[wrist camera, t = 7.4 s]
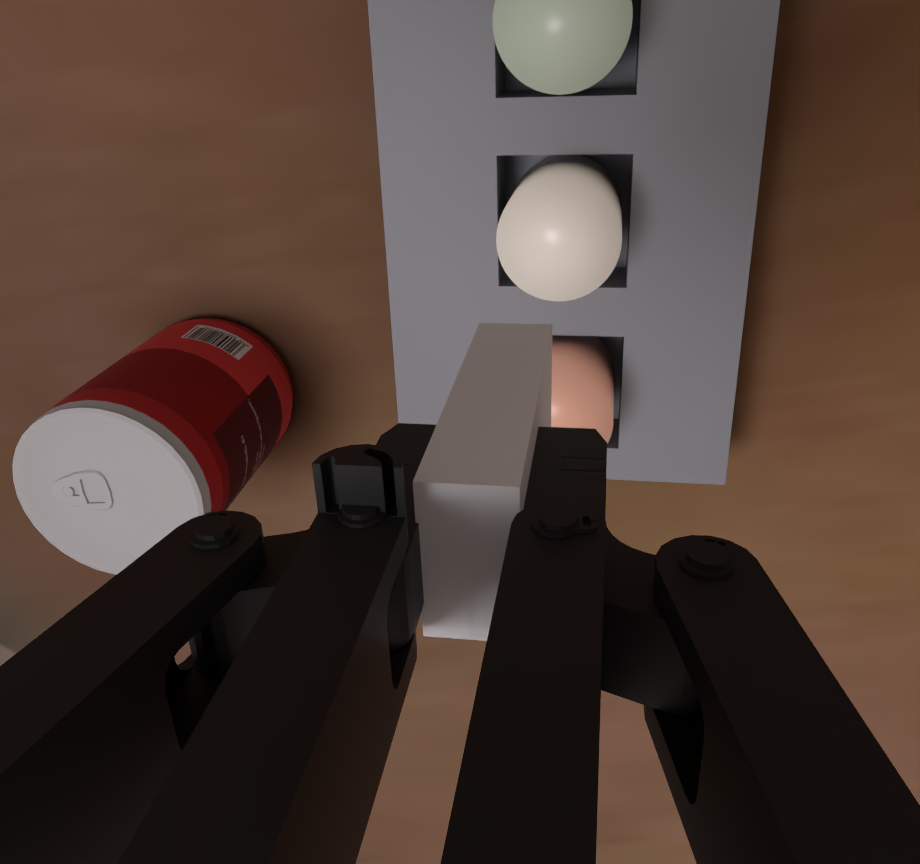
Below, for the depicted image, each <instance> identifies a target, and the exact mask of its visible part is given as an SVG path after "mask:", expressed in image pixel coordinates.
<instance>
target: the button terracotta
mask: <svg viewBox="0 0 920 864" xmlns="http://www.w3.org/2000/svg"><path fill="white" fill-rule="evenodd" d="M613 415H614V365H613V361H612V357H611V355H610V353H609V351H608V349H607V347H606V346H605V345H604V343H603V342H602V341H601V340H600V339H599V338H598V337H597V336H566V335H552V397H551V427H564V428H589V429H596V430H597V431H598V432H599V434H600V435H601V436H602V437H603V439H604V440H605V441H606V442H607V444H608V442H609V440H610V437H611V434H612V430H613Z"/></svg>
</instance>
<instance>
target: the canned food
mask: <svg viewBox="0 0 920 864" xmlns="http://www.w3.org/2000/svg"><path fill="white" fill-rule="evenodd" d="M292 405H293V390H292V383H291V380H290V376H289V373H288V371H287V369H286V367H285V365H284V363H283V361H282V359H281V358H280V356H279V355H278V354H277V353H276V351H275V350H274V349H273V347H272V346H270V345H269V344H268V343H267V342H266V341H265V340H264V339H263V338H262V337H260V336H259V335H257V334H256V333H254V332H253V331H251V330H250V329H248V328H246V327H243V326H241V325H239V324H236V323H234V322H230V321H226V320H222V319H210V318H202V319H194V320H187V321H181V322H178V323H176V324H173V325H170V326H168V327H166V328H165V329H163V330H162V331H160V332H159V333H157V334H156V335H155V336H153V337H152V338H150V339H149V340H147V341H146V342H145V343H143V344H142V345H140V346H139V347H137V348H136V349H135V350H133V351H132V352H130V353H129V354H127V355H126V356H125V357H123V358H122V359H120V360H119V361H117V362H116V363H114V364H113V365H112V366H110V367H109V368H107V369H106V370H104V371H103V372H102V373H100V374H99V375H97V376H96V377H94V378H93V379H92V380H90V381H89V382H87V383H86V384H84V385H83V386H82V387H80V388H79V389H77V390H76V391H74V392H73V393H72V394H70V395H69V396H67V397H66V398H64V399H63V400H62V401H60V402H59V403H57V404H56V405H55V406H54V407H53V408H51V409H50V410H48V411H47V412H46V413H44V414H43V415H41V416H40V417H39V418H38V419H37V420H36V421H35V423H33V424H32V425H31V426H30V427H29V428H28V430H27V431H26V432H25V433H24V434H23V435H22V437H21V439H20V441H19V443H18V445H17V447H16V449H15V454H14V459H13V481H14V485H15V489H16V493H17V496H18V498H19V501H20V503H21V505H22V507H23V509H24V511H25V513H26V514H27V516H28V517H29V519H30V520H31V522H32V523H33V525H34V526H35V527H36V528H37V529H38V530H39V532H40V533H41V534H42V535H43V536H44V537H45V538H46V539H47V540H48V541H49V542H50V543H52V544H53V545H54V546H55V547H57V548H58V549H59V550H60V551H62V552H63V553H65V554H66V555H68V556H70V557H71V558H73V559H75V560H76V561H78V562H80V563H82V564H85V565H87V566H89V567H92V568H94V569H96V570H100V571H104V572H108V573H112V574H118V573H120V572H121V571H122V570H123V569H125V568H126V567H127V566H128V565H130V564H131V563H132V562H134V561H135V560H136V559H137V558H139V557H140V556H141V555H142V554H144V553H145V552H146V551H148V550H149V549H150V548H151V547H153V546H154V545H155V544H156V543H158V542H159V541H160V540H162V539H163V538H164V537H165V536H167V535H168V534H169V533H170V532H172V531H173V530H174V529H176V528H177V527H178V526H180V525H182V524H183V523H185V522H187V521H188V520H190V519H192V518H195V517H198V516H201V515H204V514H206V513H209V512H214V511H217V512H219V511H226V510H227V508H228V507H229V506H230V504H231V503H232V502H233V500H234V499H235V498H236V496H237V495H238V494H239V493H240V491H241V490H242V489H243V487H244V486H245V485H246V483H247V482H248V481H249V479H250V478H251V477H252V476H253V474H254V473H255V472H256V470H257V469H258V468H259V466H260V465H261V464H262V463H263V461H264V460H265V459H266V457H267V456H268V455H269V453H270V452H271V451H272V449H273V448H274V447H275V446H276V444H277V443H278V442H279V440H280V439H281V437H282V436H283V434H284V433H285V432H286V429H287V427H288V424H289V422H290V419H291V412H292Z"/></svg>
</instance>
